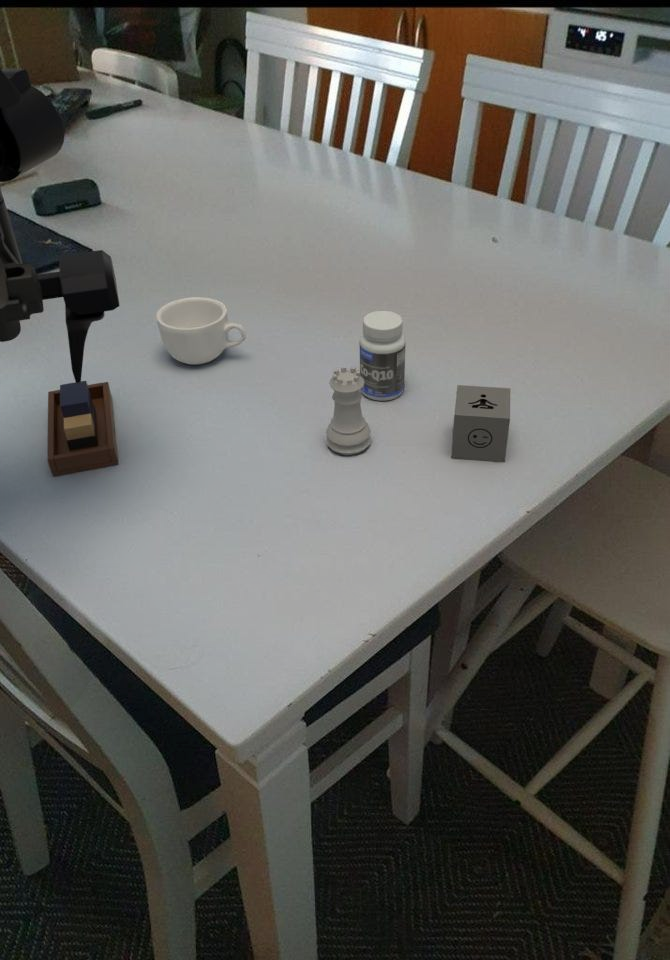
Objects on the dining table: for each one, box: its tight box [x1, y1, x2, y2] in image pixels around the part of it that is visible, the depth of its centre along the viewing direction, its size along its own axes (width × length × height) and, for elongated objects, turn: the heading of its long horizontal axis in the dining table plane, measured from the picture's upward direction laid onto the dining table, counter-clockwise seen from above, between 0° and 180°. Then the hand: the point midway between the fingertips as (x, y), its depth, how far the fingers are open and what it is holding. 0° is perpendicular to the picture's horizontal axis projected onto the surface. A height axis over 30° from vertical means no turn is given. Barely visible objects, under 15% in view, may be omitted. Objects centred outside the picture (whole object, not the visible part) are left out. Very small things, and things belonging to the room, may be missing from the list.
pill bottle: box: [358, 310, 407, 402], centre depth 84 cm, size 5×5×8 cm
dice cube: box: [450, 384, 511, 463], centre depth 77 cm, size 5×5×5 cm
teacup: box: [155, 296, 247, 366], centre depth 91 cm, size 10×8×5 cm
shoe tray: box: [46, 381, 120, 477], centre depth 81 cm, size 6×12×2 cm, turn 15°
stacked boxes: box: [59, 380, 98, 450], centre depth 80 cm, size 6×3×4 cm, turn 15°
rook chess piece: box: [325, 366, 372, 456], centre depth 77 cm, size 4×4×8 cm
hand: (22, 389), depth 68 cm, fingers open, 9 cm apart
